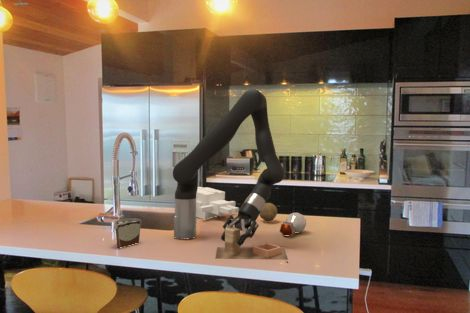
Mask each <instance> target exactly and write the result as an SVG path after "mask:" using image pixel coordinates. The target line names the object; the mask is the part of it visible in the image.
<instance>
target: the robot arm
mask: <svg viewBox="0 0 470 313" xmlns="http://www.w3.org/2000/svg"><path fill="white" fill-rule="evenodd" d="M249 116H251V119H252V121H253V126H254V133H255V134H254V135H255V138H254V139H255V146H256V150H257V154H258V158H259V161H260V162H261V163H264V164H265V166H266V168H264V170H262V172H261V173H260V174H259V176H258V179H257V181H256V184H255V186H254V187H253V189H252V190H251V192H250V194H249V195H248V196H247V197H246V198H245V200H244V202H243V203H242V205H241V206H240V207H239V211H238V213H237V216H233V214H230V216H229V217H228V218H227V220H226V221H225V223H223V225H222V228H223V229H224V231H223V233H222V234H221V235H220V240H222V241H223V242H225V229H227V228H232V227H234V228H237V229H240V232H242V234H241V233H240V238H239V239H238V241H237V244H238V245H239V246H240V247H241V246H242V245H243V244H244V243H245V241H246V240H247V239H248V238H250V239H253V237H254V235H255V233H256V231H257V229H258V228H259V224H258V222H257V221H256V220H257V219H258V218H259V217H260V213H261V211H262V210H263V208H264V205H265V204H266V203H268V200H269V198H270V197H271V195H272V190H271V189H272V187H273V185H276V184H279V183H281V182H282V181H283V180H284V177H285V172H284V166H282V164H281V161H280V159H279V158H278V156H277V152H276V149H275V148H276V147H275V144H274V140H273V137H272V136H273V135H272V133H271V128H270V122H269V116H268V103H267V98H266V96H265V95H264V94H263V93H262V92H261V91H260V90H258V89H255V88H250V89H248V90H246V91H245V92H243V94H242V95H241V96H240V98H239V99H237V101H236V103H235V104H234V105H233V106H232V107H231V109H230V110H229V111H228V112H227V113H226V114H224V116H223V117H222V118H221V119H220V120H219V121H218V122H217V123H215V125H214V126H213V127H212V128H211V129H210V130H209V131H208V132H207V133H206V134H205V135H204V137H203V138H202V139H201V140H200V141H199V142H198V144H197V145H195V147H194V149H192V151H191V152H189V153H188V154H187V155H186V156H185V157H184V158H183V159H181V160H180V161H179V162H178V163H176V164H175V165H174V167H173V170H172V177H173V179H174V181H175V182H177V185H176V189H175V192H174V216H173V238H174V237H176V238H175V239H177V238H183V239H182V240H187V239H186V238H193V237H195V236H196V237H197V217H196V194H197V189H198V187H199V185H198V184H199V170H200V169H201V167H202V166H203V165H204V164H206V162H207V161H210V160H211V159H212V158H213V157H215V156H216V155H217V154H218V153H220V152H221V151H222V150H223V149H224V148H225V147H226V146H227V145H228V144H229V143H230V142H231V141H232V140H233V139H234V137H235V135H236V133H237V132H238V129H239V128H240V126H241V125H242V124H243V122H244V121H246V119H247V118H249ZM196 237H195V238H196ZM184 238H185V239H184ZM193 239H194V238H193Z"/></svg>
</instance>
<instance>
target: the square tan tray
mask: <svg viewBox="0 0 470 313" xmlns="http://www.w3.org/2000/svg"><path fill="white" fill-rule="evenodd" d="M252 248H253V253H254V254H257V255H260V256H264V257H267V258H269V257H273V256H276V255H279V254H282V248H283V246H279V245H276V244H271V243H268V242H264V243H262V244H258V245H254V246H252Z"/></svg>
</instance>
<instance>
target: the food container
mask: <svg viewBox="0 0 470 313" xmlns="http://www.w3.org/2000/svg"><path fill="white" fill-rule="evenodd" d="M142 224H143V222H142V220H141V218H122V219H118V220H116V221H115V222H114V224H113V228H114V229H115V238H116V246H118V247H119V248H118V247H117V248H118V249H121V248H120V247H124V246H128V245H132V244H135V243H139V244H140V236H141V235H140V234H141V225H142ZM132 246H133V245H132ZM128 247H129V246H128ZM124 248H125V247H124Z"/></svg>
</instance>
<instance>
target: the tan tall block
mask: <svg viewBox="0 0 470 313" xmlns="http://www.w3.org/2000/svg"><path fill="white" fill-rule="evenodd" d="M234 227H235V226H234ZM234 227H232V228H227V229H224V231H225V241H224V247H225V253H227V254H230V255H235V254H238V253H240V248H241V246H239V245H238V244H237V241H238V239H239V238H240V236H241V230H240V229H237V228H234Z"/></svg>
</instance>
